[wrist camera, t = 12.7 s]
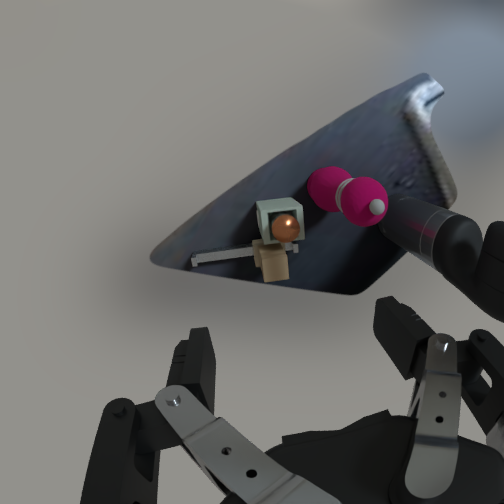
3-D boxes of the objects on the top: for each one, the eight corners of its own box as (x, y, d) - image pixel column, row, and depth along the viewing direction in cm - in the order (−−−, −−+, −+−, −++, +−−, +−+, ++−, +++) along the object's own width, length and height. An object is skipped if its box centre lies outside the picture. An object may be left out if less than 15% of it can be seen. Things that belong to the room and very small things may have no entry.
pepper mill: (296, 178, 45) (339, 196, 27) (331, 157, 45) (392, 163, 26) (316, 213, 48) (367, 252, 29) (349, 193, 47) (414, 219, 28)
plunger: (290, 206, 42) (298, 214, 37) (292, 229, 44) (300, 240, 38) (265, 209, 42) (270, 217, 37) (268, 232, 44) (273, 244, 38)
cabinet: (291, 197, 46) (302, 205, 39) (293, 225, 48) (304, 239, 41) (254, 201, 46) (259, 210, 39) (258, 230, 48) (263, 244, 41)
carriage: (281, 235, 47) (292, 254, 38) (282, 255, 49) (294, 278, 40) (251, 239, 47) (256, 259, 38) (254, 259, 48) (259, 283, 40)
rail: (293, 237, 49) (297, 243, 46) (294, 245, 49) (298, 252, 46) (193, 251, 49) (191, 258, 45) (195, 259, 49) (192, 266, 46)
